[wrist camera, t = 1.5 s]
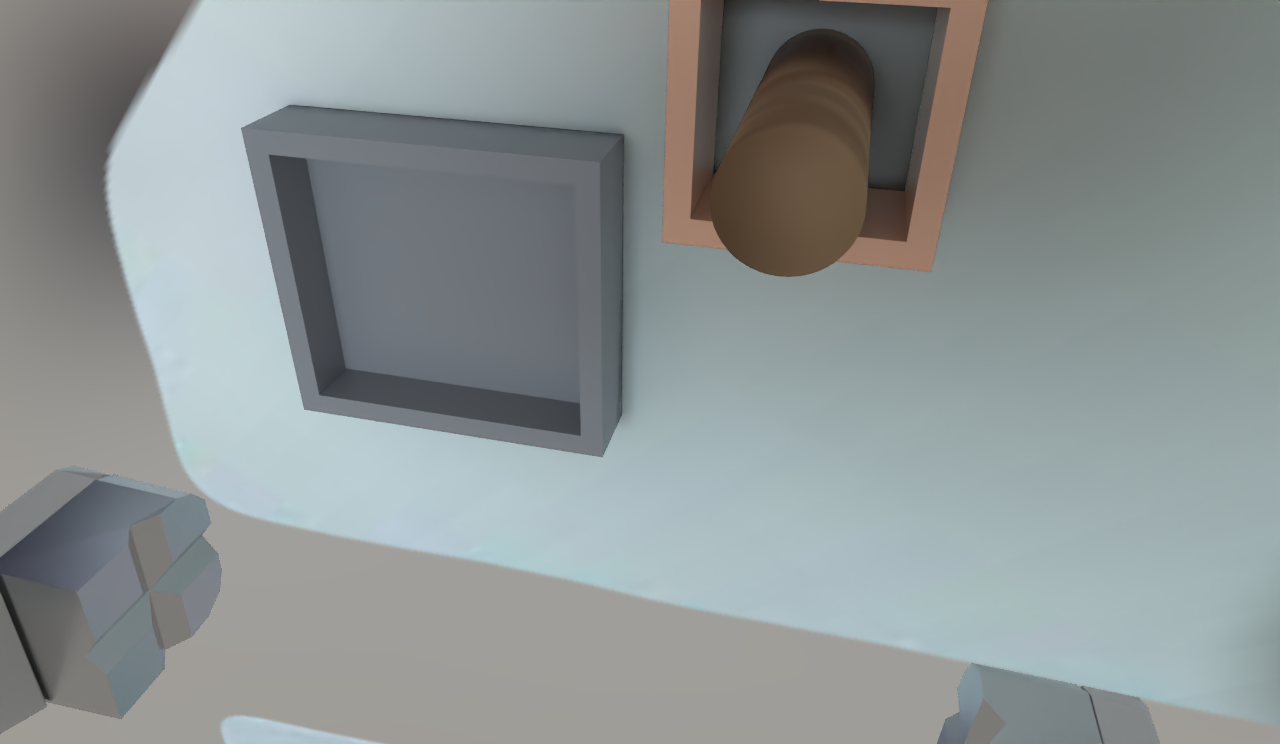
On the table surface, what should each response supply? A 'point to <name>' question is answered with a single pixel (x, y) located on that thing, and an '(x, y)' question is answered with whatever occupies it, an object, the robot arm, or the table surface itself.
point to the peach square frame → (894, 219)
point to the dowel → (799, 159)
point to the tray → (448, 271)
